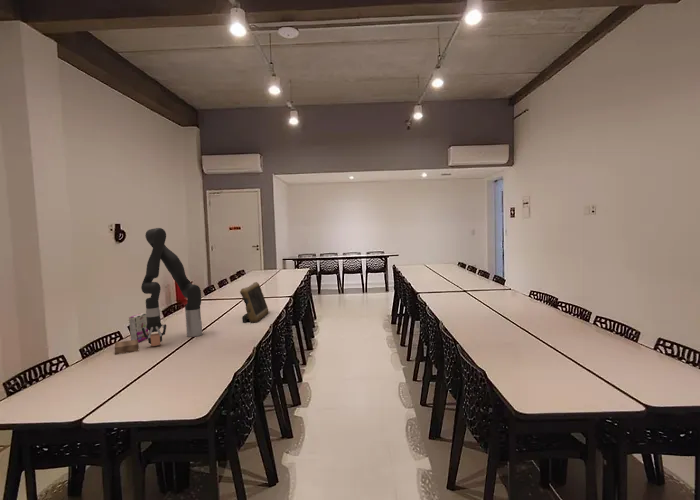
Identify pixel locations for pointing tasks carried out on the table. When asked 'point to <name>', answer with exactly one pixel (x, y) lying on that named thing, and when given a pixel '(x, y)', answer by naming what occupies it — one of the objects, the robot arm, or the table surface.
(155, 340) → the terracotta block
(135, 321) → the candy bar box
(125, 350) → the walnut base
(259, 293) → the tablet
